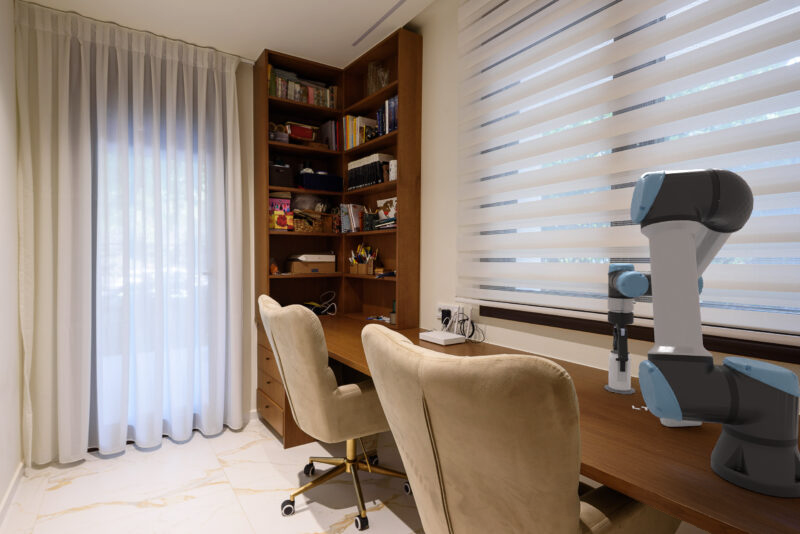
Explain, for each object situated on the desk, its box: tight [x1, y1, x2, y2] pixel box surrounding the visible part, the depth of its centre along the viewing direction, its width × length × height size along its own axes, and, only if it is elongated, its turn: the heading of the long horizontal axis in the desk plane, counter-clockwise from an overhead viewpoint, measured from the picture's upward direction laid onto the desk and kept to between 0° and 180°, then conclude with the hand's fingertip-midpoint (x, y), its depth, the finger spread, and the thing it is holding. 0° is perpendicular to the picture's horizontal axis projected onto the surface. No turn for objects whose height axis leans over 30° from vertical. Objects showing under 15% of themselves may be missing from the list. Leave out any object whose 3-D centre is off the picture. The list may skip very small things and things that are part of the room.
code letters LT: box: [631, 405, 648, 411], centre depth 124 cm, size 2×4×1 cm, turn 68°
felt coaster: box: [603, 383, 636, 395], centre depth 140 cm, size 9×9×1 cm
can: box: [608, 349, 632, 391], centre depth 140 cm, size 6×6×12 cm
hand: (619, 375), depth 140 cm, fingers open, 13 cm apart
